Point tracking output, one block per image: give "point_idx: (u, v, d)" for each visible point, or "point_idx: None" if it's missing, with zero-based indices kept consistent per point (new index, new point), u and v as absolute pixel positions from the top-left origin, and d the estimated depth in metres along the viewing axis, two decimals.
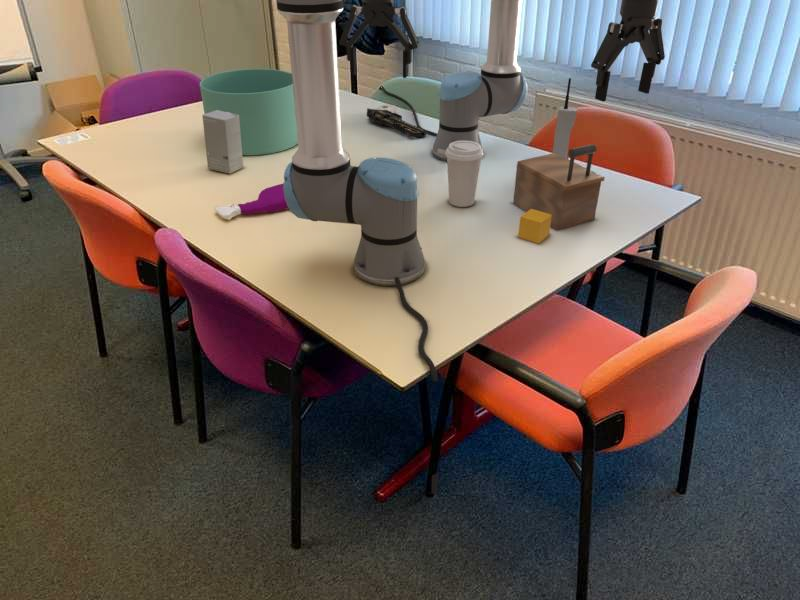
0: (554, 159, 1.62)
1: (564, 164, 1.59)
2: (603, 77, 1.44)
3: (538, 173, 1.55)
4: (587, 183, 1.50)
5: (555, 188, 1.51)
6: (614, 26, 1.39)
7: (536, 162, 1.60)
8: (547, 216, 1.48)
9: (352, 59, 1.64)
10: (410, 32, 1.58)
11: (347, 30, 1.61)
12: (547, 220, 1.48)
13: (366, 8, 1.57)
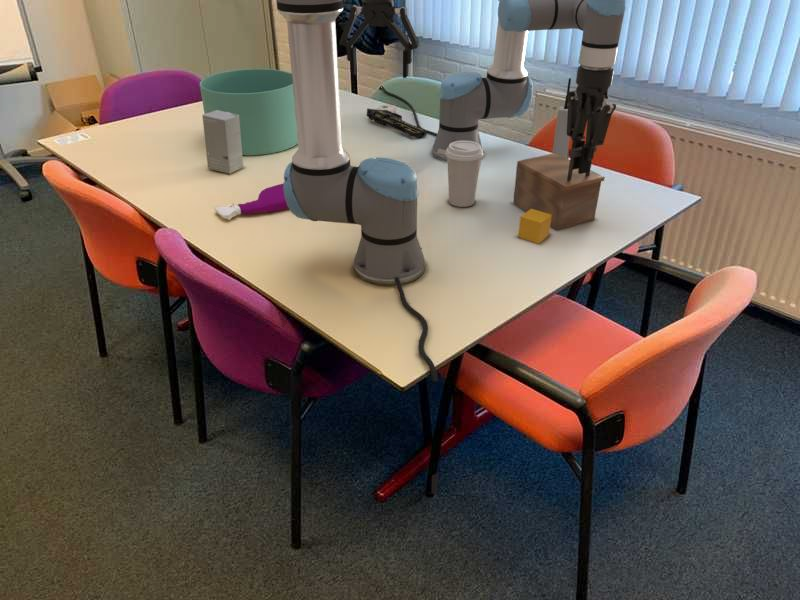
0: (554, 159, 1.62)
1: (564, 164, 1.59)
2: None
3: (538, 173, 1.55)
4: (587, 183, 1.50)
5: (555, 188, 1.51)
6: (613, 108, 1.37)
7: (536, 162, 1.60)
8: (547, 216, 1.48)
9: (352, 59, 1.64)
10: (410, 32, 1.58)
11: (347, 30, 1.61)
12: (547, 220, 1.48)
13: (366, 8, 1.57)
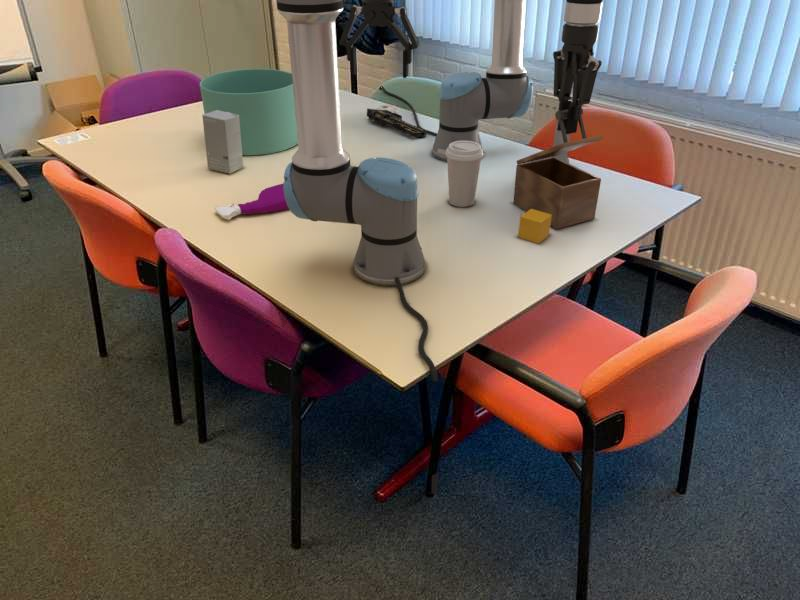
0: None
1: None
2: None
3: (536, 154, 1.53)
4: (585, 141, 1.47)
5: (555, 187, 1.51)
6: (598, 65, 1.38)
7: None
8: (547, 216, 1.48)
9: (352, 59, 1.64)
10: (410, 32, 1.58)
11: (347, 30, 1.61)
12: (547, 220, 1.48)
13: (366, 8, 1.57)
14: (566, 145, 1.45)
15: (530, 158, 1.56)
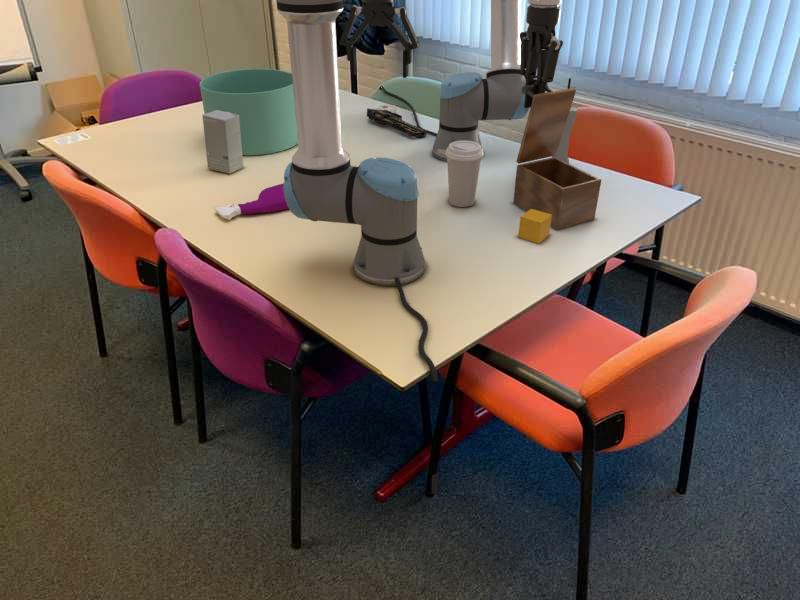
0: None
1: None
2: None
3: (524, 132, 1.55)
4: (558, 91, 1.51)
5: (555, 188, 1.51)
6: (560, 45, 1.46)
7: None
8: (547, 216, 1.48)
9: (352, 59, 1.64)
10: (410, 32, 1.58)
11: (347, 30, 1.61)
12: (547, 220, 1.48)
13: (366, 8, 1.57)
14: (539, 95, 1.49)
15: (523, 143, 1.57)
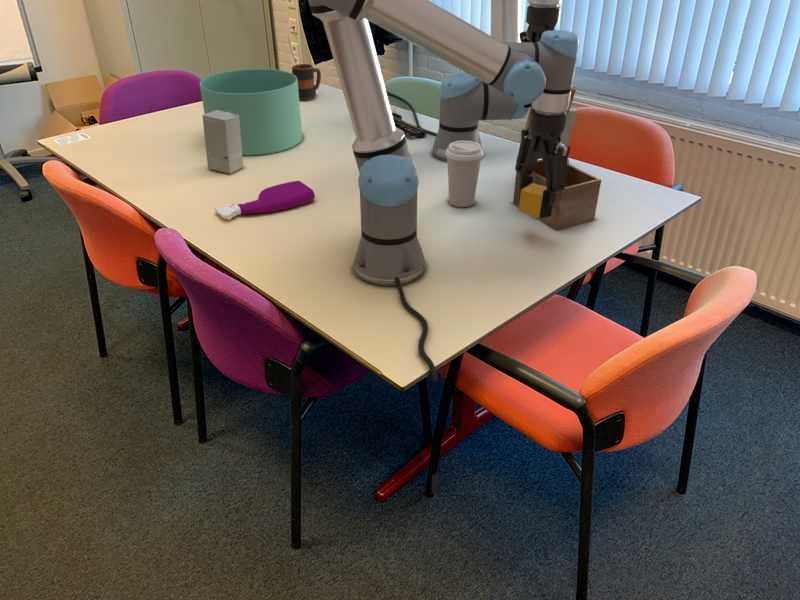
0: None
1: None
2: None
3: None
4: None
5: None
6: None
7: None
8: None
9: (521, 189, 1.48)
10: (556, 174, 1.37)
11: (520, 155, 1.45)
12: None
13: (533, 130, 1.40)
14: None
15: None
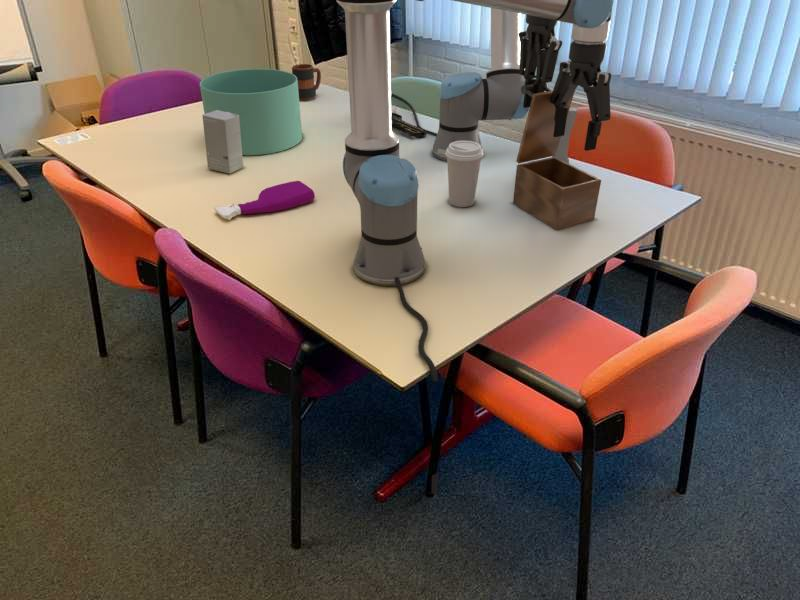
0: None
1: None
2: None
3: (524, 132, 1.55)
4: None
5: (555, 188, 1.51)
6: (559, 45, 1.46)
7: None
8: None
9: (556, 120, 1.51)
10: (600, 103, 1.38)
11: (556, 87, 1.48)
12: None
13: (572, 64, 1.42)
14: (538, 94, 1.49)
15: (522, 142, 1.57)
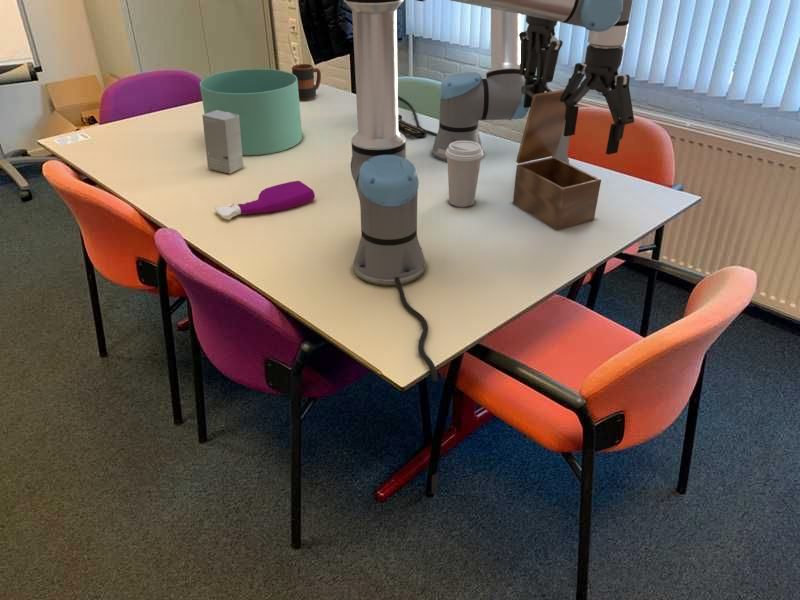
0: None
1: None
2: None
3: (524, 132, 1.55)
4: (557, 91, 1.51)
5: (555, 188, 1.51)
6: (559, 45, 1.46)
7: None
8: None
9: (567, 119, 1.48)
10: (622, 105, 1.33)
11: (569, 88, 1.45)
12: None
13: (588, 68, 1.38)
14: (538, 95, 1.49)
15: (522, 143, 1.57)
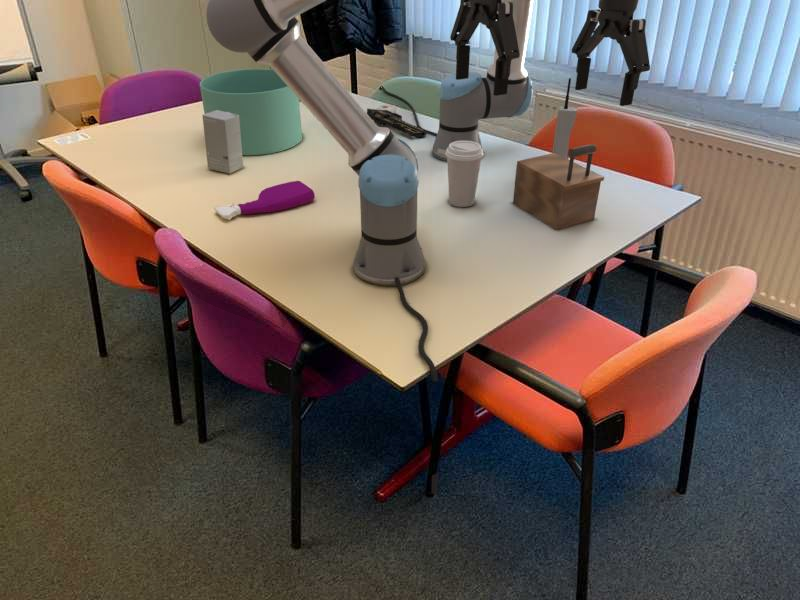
0: (554, 158, 1.62)
1: (564, 164, 1.59)
2: None
3: (538, 173, 1.55)
4: (587, 183, 1.50)
5: (555, 188, 1.51)
6: (643, 22, 1.25)
7: (536, 162, 1.60)
8: None
9: (457, 60, 1.33)
10: (504, 37, 1.18)
11: (457, 23, 1.30)
12: None
13: None
14: (568, 188, 1.48)
15: (531, 171, 1.57)
